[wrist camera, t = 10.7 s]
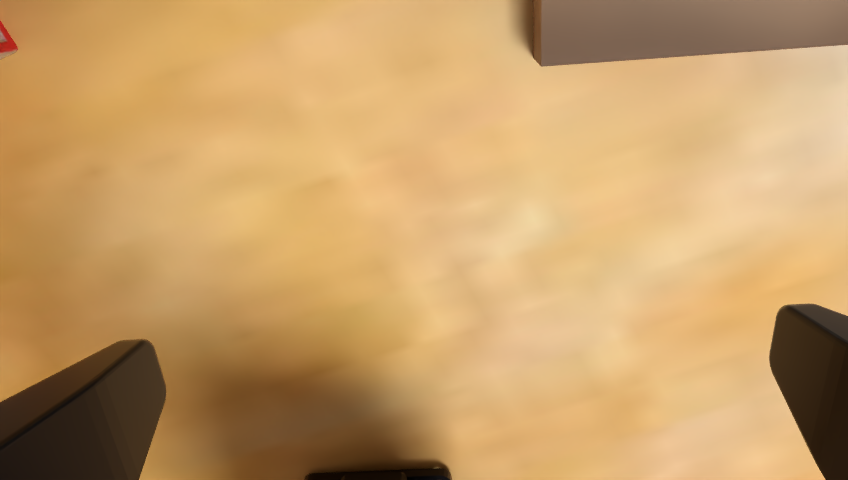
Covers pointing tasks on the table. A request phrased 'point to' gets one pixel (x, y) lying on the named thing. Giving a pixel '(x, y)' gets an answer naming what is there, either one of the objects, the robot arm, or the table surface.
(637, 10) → the tower base slab
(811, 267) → the table surface
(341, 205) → the table surface
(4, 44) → the stack of blocks
